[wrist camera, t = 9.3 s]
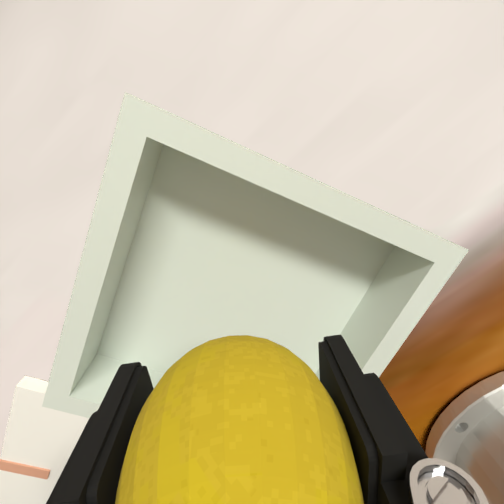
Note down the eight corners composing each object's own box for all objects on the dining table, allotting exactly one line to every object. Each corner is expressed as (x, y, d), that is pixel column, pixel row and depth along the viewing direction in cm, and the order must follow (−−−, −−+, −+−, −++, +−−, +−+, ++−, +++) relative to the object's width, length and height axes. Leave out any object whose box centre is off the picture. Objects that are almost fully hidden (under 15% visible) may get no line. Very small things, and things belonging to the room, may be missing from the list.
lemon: (336, 322, 11) (564, 714, 3) (268, 424, 13) (321, 841, 5) (196, 265, 10) (85, 669, 2) (141, 385, 11) (-32, 853, 4)
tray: (418, 227, 15) (468, 250, 12) (297, 417, 19) (310, 473, 16) (153, 105, 13) (125, 92, 9) (79, 355, 17) (41, 406, 14)
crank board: (233, 430, 20) (233, 443, 19) (171, 544, 23) (168, 558, 23) (25, 375, 17) (14, 387, 16) (-7, 512, 21) (-17, 527, 20)
